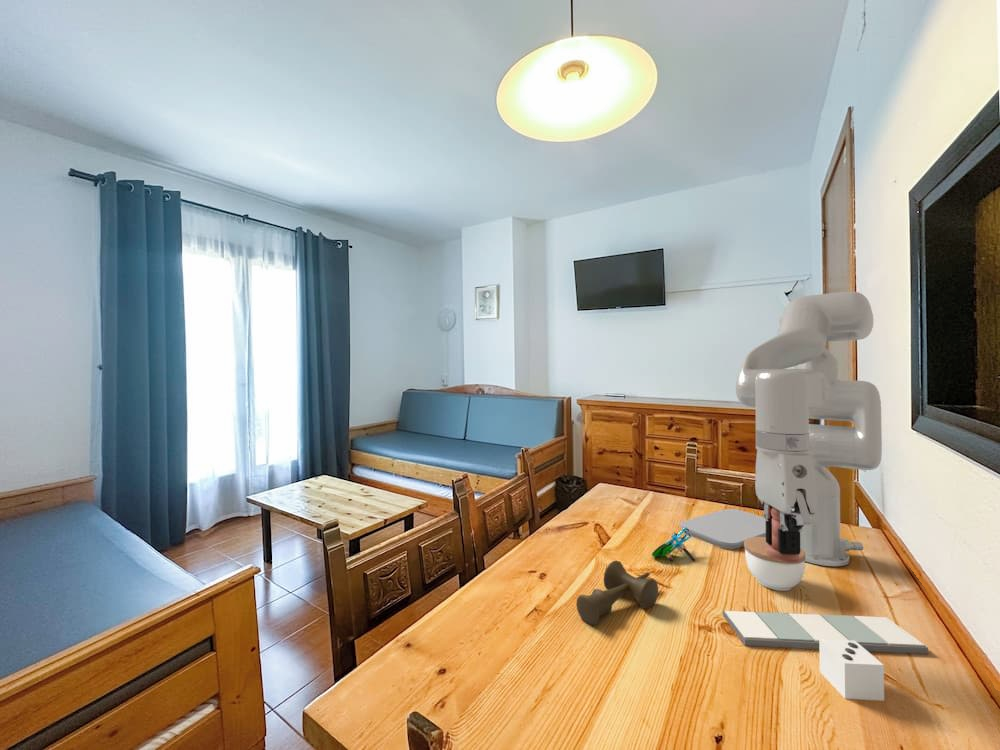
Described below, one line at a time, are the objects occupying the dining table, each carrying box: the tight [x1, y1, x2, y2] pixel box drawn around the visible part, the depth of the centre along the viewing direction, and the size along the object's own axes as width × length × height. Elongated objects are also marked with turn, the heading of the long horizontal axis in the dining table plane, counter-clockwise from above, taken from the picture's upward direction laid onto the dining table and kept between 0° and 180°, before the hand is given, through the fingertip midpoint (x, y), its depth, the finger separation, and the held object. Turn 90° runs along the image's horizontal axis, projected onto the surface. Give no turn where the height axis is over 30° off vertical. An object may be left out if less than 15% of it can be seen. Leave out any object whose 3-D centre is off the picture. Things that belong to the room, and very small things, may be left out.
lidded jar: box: [743, 537, 806, 592], centre depth 85 cm, size 11×11×9 cm
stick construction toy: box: [651, 527, 696, 563], centre depth 97 cm, size 12×7×8 cm
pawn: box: [767, 507, 799, 562], centre depth 69 cm, size 5×5×9 cm
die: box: [818, 639, 885, 702], centre depth 58 cm, size 5×5×5 cm
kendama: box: [575, 560, 659, 627], centre depth 79 cm, size 6×10×20 cm
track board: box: [722, 610, 929, 655], centre depth 69 cm, size 28×8×1 cm, turn 84°
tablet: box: [679, 508, 768, 550], centre depth 113 cm, size 16×26×2 cm, turn 118°
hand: (782, 547), depth 69 cm, fingers closed on pawn, 3 cm apart
